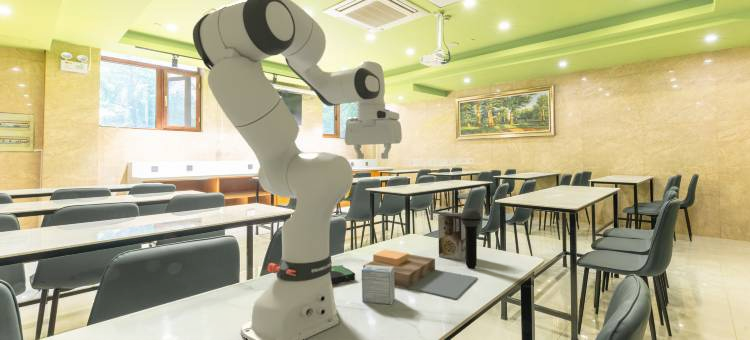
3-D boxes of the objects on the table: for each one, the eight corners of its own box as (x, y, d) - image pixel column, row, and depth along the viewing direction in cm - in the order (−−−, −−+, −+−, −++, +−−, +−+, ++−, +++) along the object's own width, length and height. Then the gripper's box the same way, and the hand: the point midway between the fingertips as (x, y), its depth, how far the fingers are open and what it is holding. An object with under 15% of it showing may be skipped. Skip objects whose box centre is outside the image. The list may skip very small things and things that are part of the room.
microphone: (481, 271, 111) (481, 210, 110) (460, 270, 112) (460, 209, 112) (481, 265, 117) (481, 207, 116) (461, 264, 119) (461, 206, 118)
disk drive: (309, 292, 97) (355, 281, 105) (309, 282, 97) (355, 272, 105) (298, 281, 106) (341, 271, 114) (297, 272, 106) (341, 263, 114)
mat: (455, 299, 90) (455, 298, 90) (408, 288, 97) (408, 287, 97) (477, 278, 104) (477, 277, 104) (435, 270, 112) (435, 269, 112)
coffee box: (467, 256, 128) (467, 213, 127) (461, 260, 123) (461, 216, 122) (444, 252, 133) (443, 211, 132) (437, 256, 127) (437, 214, 127)
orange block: (397, 265, 106) (397, 259, 106) (373, 260, 111) (373, 254, 111) (408, 259, 112) (408, 253, 111) (384, 255, 117) (384, 249, 116)
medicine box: (395, 298, 91) (394, 266, 91) (391, 305, 87) (390, 271, 86) (366, 295, 93) (366, 264, 93) (361, 302, 89) (361, 269, 89)
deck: (408, 288, 97) (408, 274, 97) (363, 278, 106) (363, 265, 106) (435, 270, 112) (434, 258, 112) (393, 262, 121) (393, 251, 121)
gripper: (340, 117, 112) (341, 159, 113) (393, 111, 101) (394, 158, 101) (352, 118, 117) (352, 158, 118) (403, 113, 106) (404, 158, 107)
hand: (372, 158), depth 110 cm, fingers open, 8 cm apart
